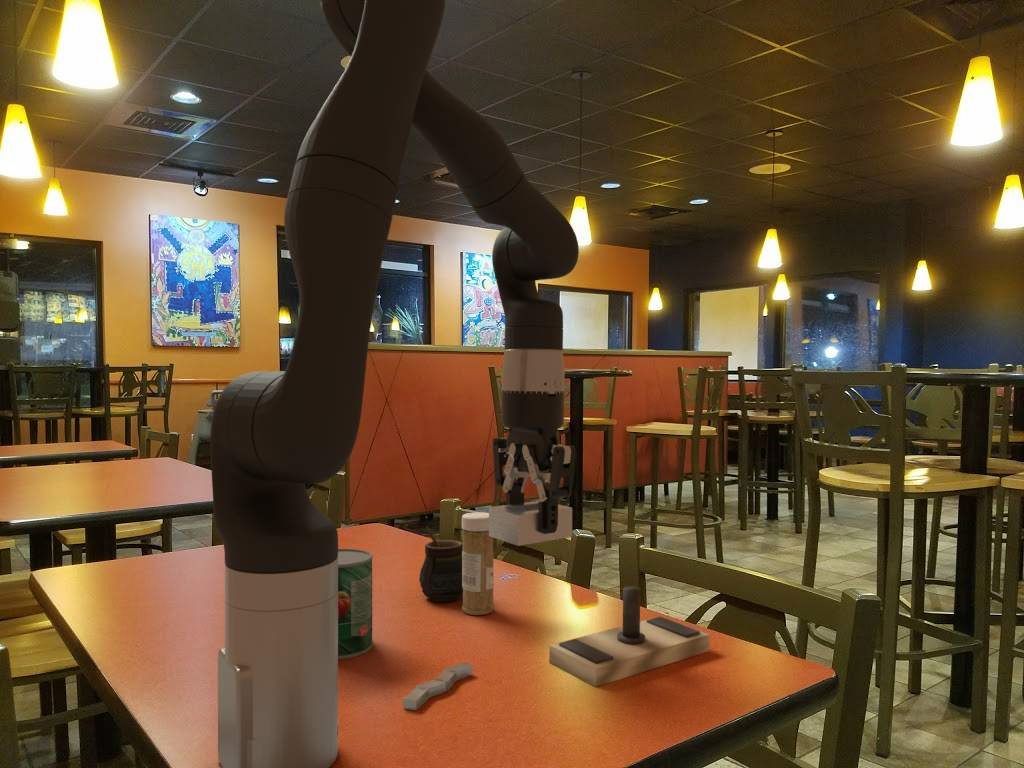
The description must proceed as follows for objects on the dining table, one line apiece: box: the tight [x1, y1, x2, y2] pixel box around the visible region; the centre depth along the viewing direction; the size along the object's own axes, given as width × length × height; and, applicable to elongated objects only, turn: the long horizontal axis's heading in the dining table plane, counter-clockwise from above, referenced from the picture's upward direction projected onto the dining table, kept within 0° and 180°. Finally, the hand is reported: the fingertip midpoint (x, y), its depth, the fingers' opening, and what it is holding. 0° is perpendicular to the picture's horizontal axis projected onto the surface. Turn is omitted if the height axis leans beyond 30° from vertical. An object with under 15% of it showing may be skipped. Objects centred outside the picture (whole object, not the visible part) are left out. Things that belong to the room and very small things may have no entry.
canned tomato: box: [338, 548, 374, 660], centre depth 90 cm, size 8×8×11 cm
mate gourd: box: [418, 526, 463, 603], centre depth 109 cm, size 7×8×10 cm
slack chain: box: [402, 661, 473, 711], centre depth 78 cm, size 11×2×1 cm, turn 149°
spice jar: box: [461, 511, 495, 616], centre depth 103 cm, size 5×5×14 cm
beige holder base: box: [548, 585, 710, 688], centre depth 87 cm, size 18×8×8 cm, turn 125°
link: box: [488, 500, 573, 547], centre depth 90 cm, size 8×6×4 cm
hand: (530, 527), depth 90 cm, fingers closed on link, 6 cm apart
